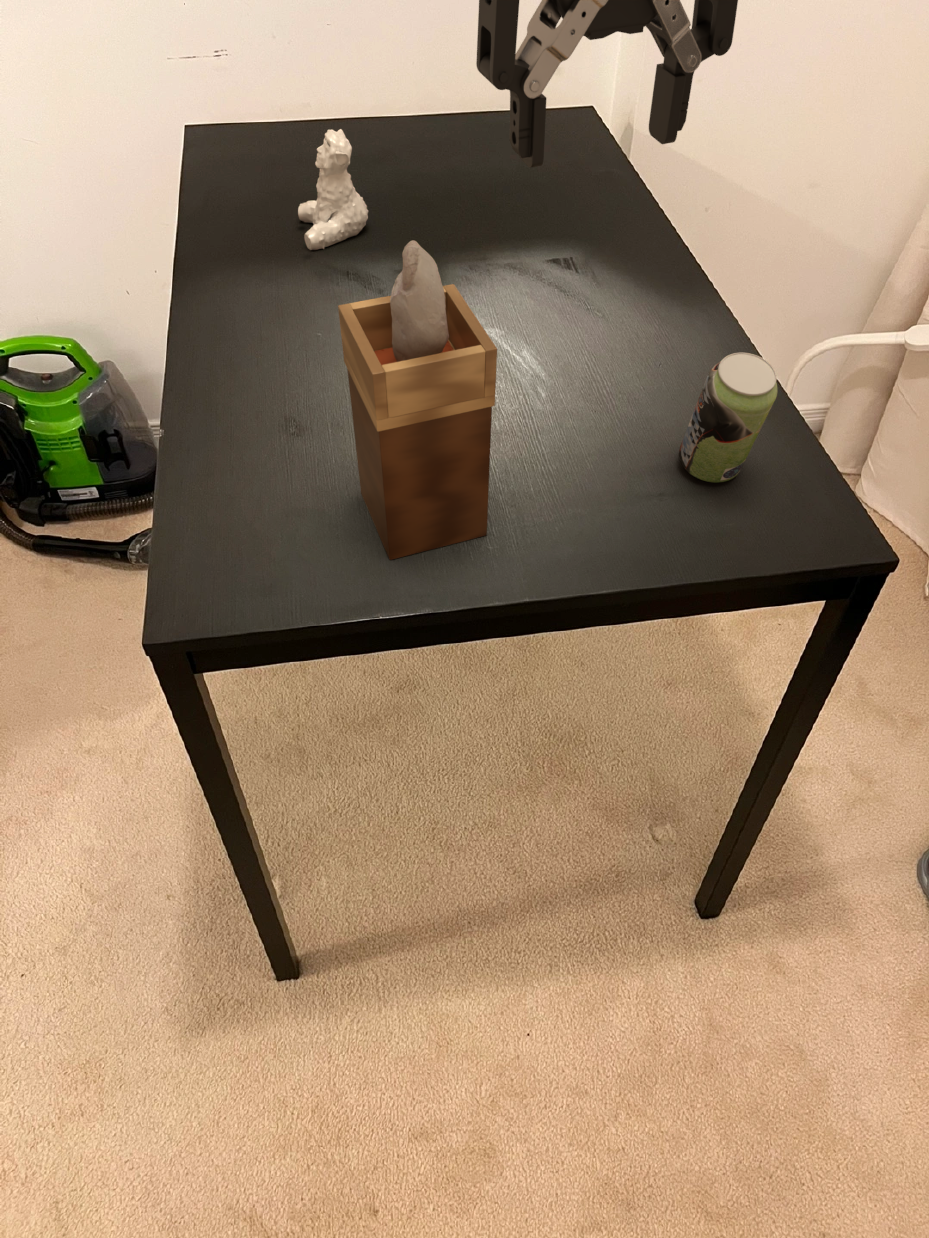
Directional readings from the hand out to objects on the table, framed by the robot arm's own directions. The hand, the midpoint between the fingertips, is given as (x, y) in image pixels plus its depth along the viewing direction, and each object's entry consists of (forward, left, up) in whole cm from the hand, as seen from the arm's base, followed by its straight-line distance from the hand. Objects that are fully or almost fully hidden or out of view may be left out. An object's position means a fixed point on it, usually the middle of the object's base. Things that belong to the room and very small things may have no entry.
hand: (597, 150), depth 52 cm
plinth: (+9, -7, -33) cm, 35 cm away
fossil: (+9, -7, -18) cm, 21 cm away
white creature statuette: (+3, -60, -33) cm, 69 cm away
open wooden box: (+9, -7, -19) cm, 22 cm away
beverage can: (-18, -3, -33) cm, 38 cm away
